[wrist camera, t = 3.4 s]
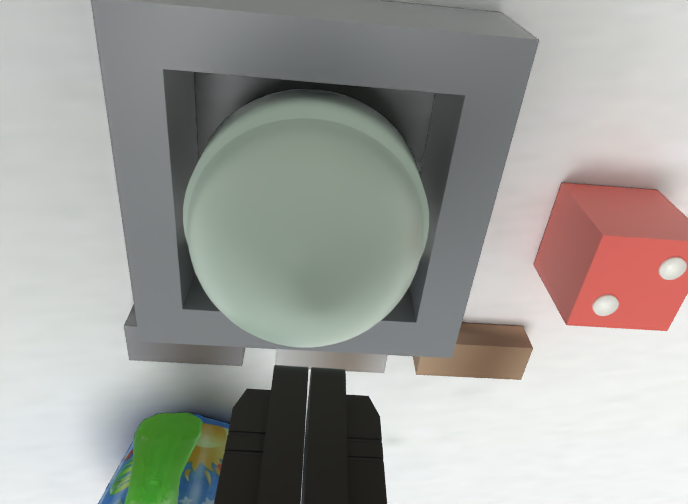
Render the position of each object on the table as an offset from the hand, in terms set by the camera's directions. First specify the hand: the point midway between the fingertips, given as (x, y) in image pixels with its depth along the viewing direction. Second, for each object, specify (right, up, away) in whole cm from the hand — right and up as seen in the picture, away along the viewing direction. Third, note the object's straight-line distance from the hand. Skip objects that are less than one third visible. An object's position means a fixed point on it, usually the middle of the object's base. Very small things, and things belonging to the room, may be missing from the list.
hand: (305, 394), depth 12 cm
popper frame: (0, +6, +9) cm, 12 cm away
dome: (0, +6, +8) cm, 10 cm away
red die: (+11, +4, +11) cm, 17 cm away
